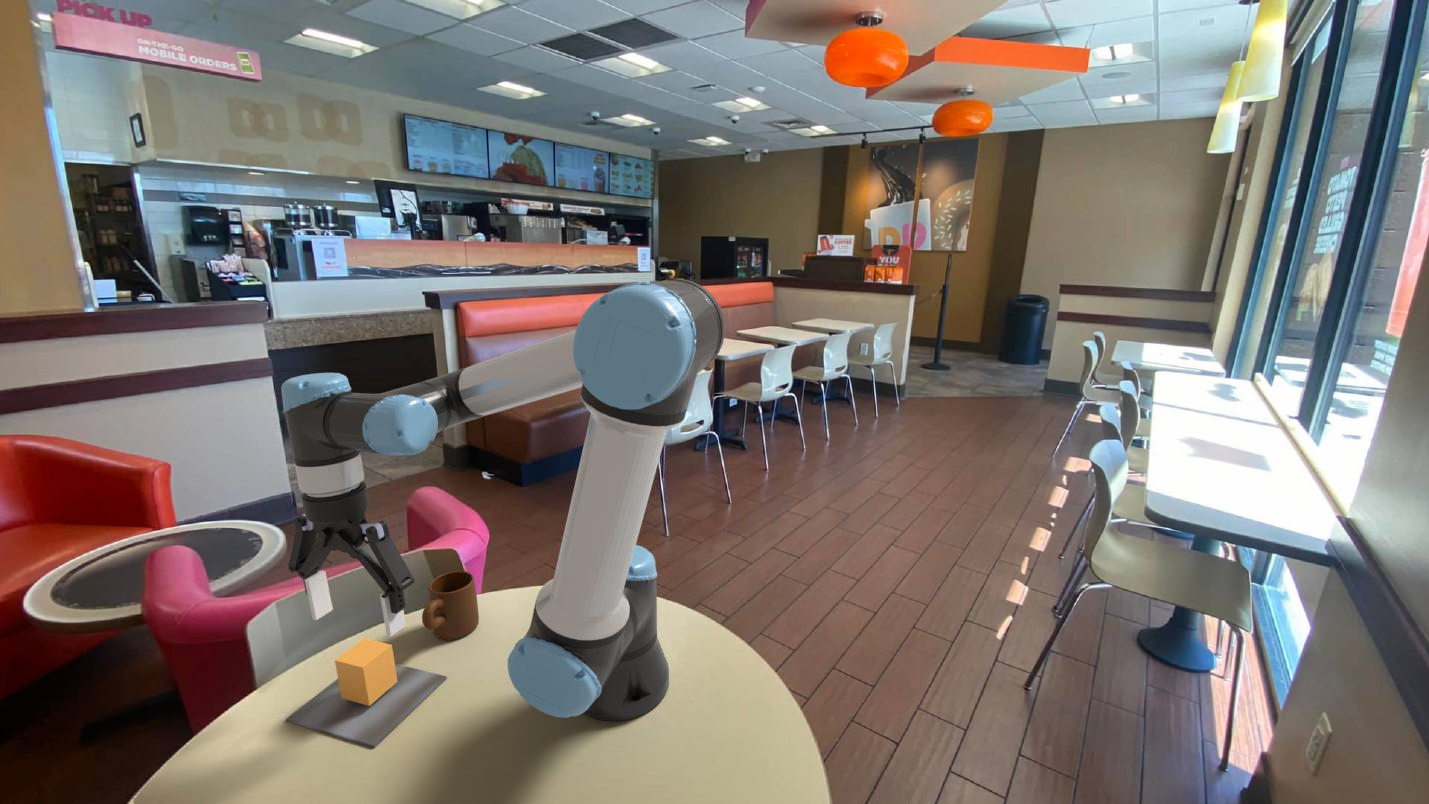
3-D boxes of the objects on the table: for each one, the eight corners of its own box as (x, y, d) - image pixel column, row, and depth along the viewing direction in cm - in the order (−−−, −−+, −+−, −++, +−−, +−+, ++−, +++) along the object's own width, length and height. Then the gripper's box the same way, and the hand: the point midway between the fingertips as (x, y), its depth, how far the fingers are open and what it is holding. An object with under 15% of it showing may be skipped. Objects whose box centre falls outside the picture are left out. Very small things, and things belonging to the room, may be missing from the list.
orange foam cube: (369, 705, 86) (363, 667, 84) (341, 698, 88) (334, 660, 86) (397, 681, 91) (391, 644, 89) (370, 674, 92) (364, 638, 91)
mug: (450, 660, 98) (444, 611, 95) (408, 656, 99) (401, 607, 96) (487, 617, 109) (482, 571, 107) (449, 613, 110) (443, 568, 108)
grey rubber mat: (446, 678, 94) (441, 638, 92) (374, 748, 81) (366, 703, 79) (367, 658, 98) (360, 619, 96) (286, 721, 85) (276, 677, 83)
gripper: (429, 485, 80) (448, 621, 86) (291, 468, 87) (316, 594, 93) (384, 508, 73) (408, 654, 79) (238, 487, 80) (269, 622, 86)
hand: (358, 622), depth 86 cm, fingers open, 13 cm apart
